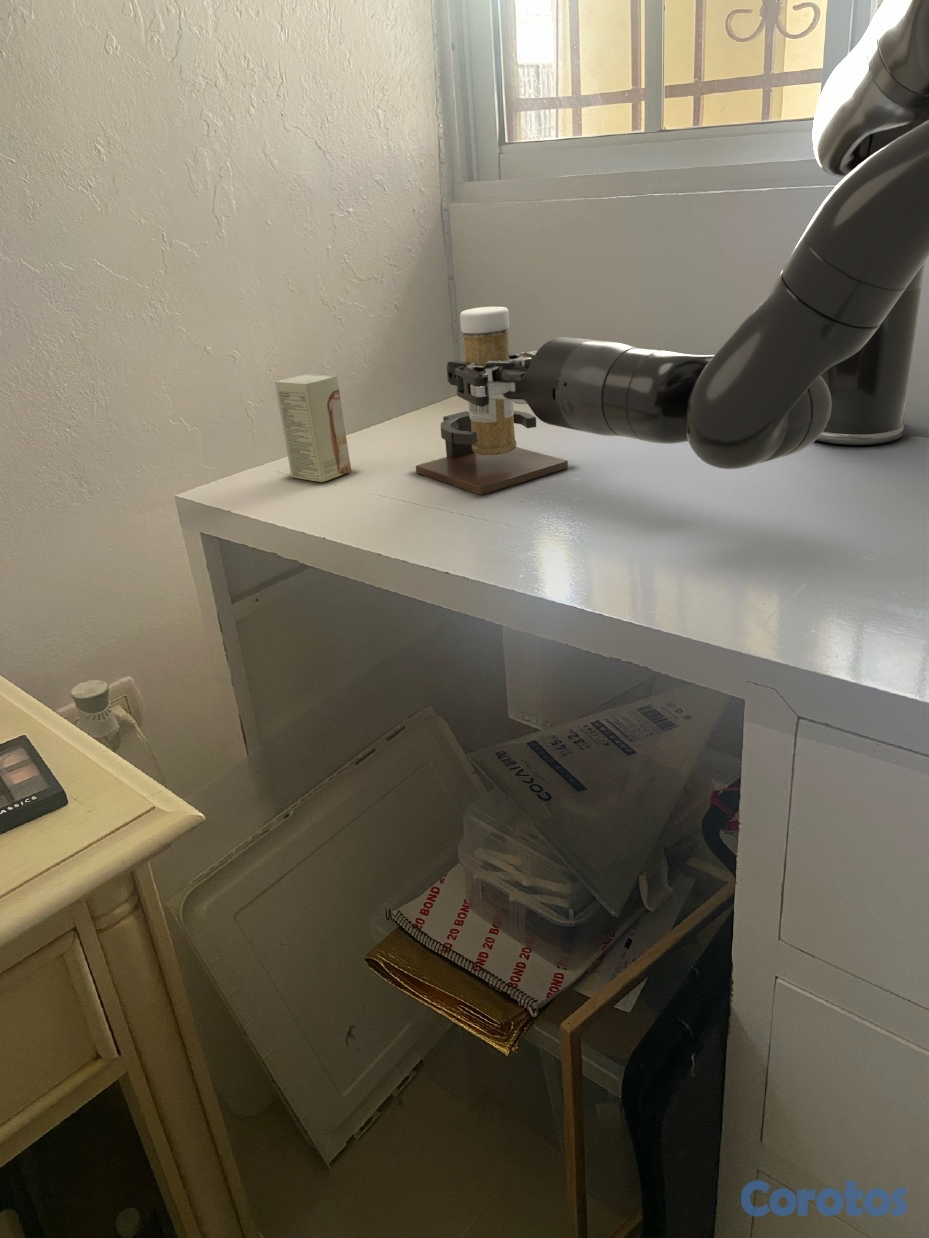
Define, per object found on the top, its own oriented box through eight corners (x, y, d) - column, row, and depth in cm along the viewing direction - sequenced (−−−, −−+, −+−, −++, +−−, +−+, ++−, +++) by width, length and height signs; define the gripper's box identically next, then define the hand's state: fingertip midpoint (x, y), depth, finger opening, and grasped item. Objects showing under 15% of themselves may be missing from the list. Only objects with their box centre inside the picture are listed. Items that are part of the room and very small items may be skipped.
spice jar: (525, 449, 89) (518, 306, 84) (488, 459, 87) (477, 313, 81) (499, 441, 93) (489, 304, 87) (462, 451, 91) (450, 310, 85)
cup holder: (568, 468, 90) (566, 418, 88) (481, 495, 85) (477, 443, 83) (498, 449, 99) (496, 403, 96) (415, 472, 93) (410, 424, 91)
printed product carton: (353, 472, 95) (340, 375, 90) (322, 484, 92) (307, 384, 87) (320, 466, 98) (305, 371, 94) (289, 477, 95) (272, 380, 91)
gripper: (652, 327, 78) (523, 317, 91) (526, 355, 71) (405, 339, 83) (651, 414, 81) (527, 392, 94) (531, 449, 74) (414, 420, 87)
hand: (471, 367), depth 89 cm, fingers closed on spice jar, 4 cm apart
